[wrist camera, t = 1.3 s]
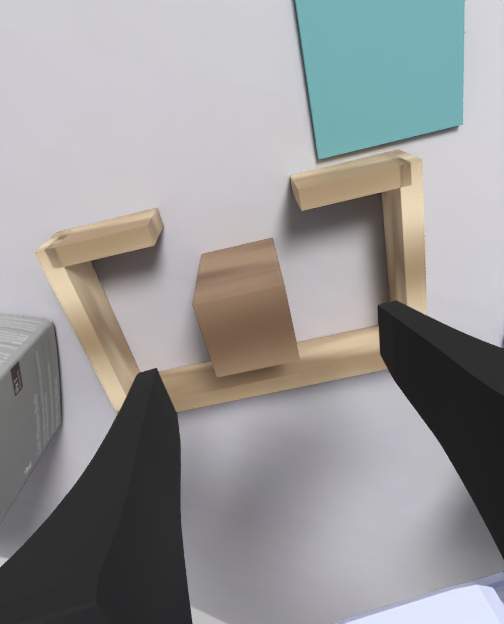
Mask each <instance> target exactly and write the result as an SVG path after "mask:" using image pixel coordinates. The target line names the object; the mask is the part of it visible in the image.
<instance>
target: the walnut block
mask: <svg viewBox="0 0 504 624" xmlns="http://www.w3.org/2000/svg"><path fill="white" fill-rule="evenodd" d="M192 305H193V308H194V311H195V314H196V317H197V320H198V323H199V326H200V329H201V332H202V335H203V338H204V341H205V344H206V347H207V349H208V352H209V355H210V358H211V361H212V364H213V367H214V370H215V373H216V376H217V378H218V377H222V376H227V375H232V374H237V373H242V372H246V371H251V370H256V369H261V368H265V367H270V366H275V365H280V364H285V363H289V362H294V361H299V360H300V356H299V352H298V347H297V342H296V338H295V333H294V328H293V323H292V319H291V314H290V309H289V305H288V300H287V295H286V290H285V286H284V281H283V277H282V273H281V269H280V265H279V261H278V257H277V253H276V249H275V245H274V241H273V238H269V239H264V240H260V241H256V242H252V243H247V244H243V245H239V246H234V247H230V248H226V249H221V250H217V251H213V252H208V253H204V254H202V255H201V260H200V266H199V271H198V277H197V282H196V288H195V293H194V299H193V304H192Z"/></svg>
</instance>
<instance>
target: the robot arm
mask: <svg viewBox="0 0 504 624" xmlns="http://www.w3.org/2000/svg"><path fill="white" fill-rule="evenodd" d="M378 324H379V344H380V355H381V357H382V359H383V361H384V363H385V365H386V367H387V368H388V370H389V372H390V374H391V376H392V377H393V379H394V381H395V382H396V383H397V385H398V386H399V388H400V389H401V390H402V392H403V393H404V395H405V396H406V397H407V399H408V400H409V401H410V403H411V404H412V405H413V407H414V408H415V409H416V411H417V412H418V413H419V415H420V416H421V418H422V419H423V420H424V422H425V423H426V424H427V426H428V427H429V428H430V430H431V431H432V432H433V434H434V435H435V437H436V438H437V440H438V441H439V443H440V444H441V446H442V447H443V449H444V451H445V452H446V454H447V456H448V457H449V459H450V461H451V462H452V464H453V466H454V468H455V469H456V471H457V473H458V474H459V476H460V478H461V480H462V482H463V483H464V485H465V487H466V489H467V491H468V492H469V494H470V496H471V498H472V499H473V501H474V503H475V505H476V507H477V509H478V511H479V512H480V514H481V516H482V518H483V520H484V522H485V524H486V526H487V528H488V529H489V531H490V533H491V535H492V537H493V539H494V541H495V543H496V545H497V547H498V549H499V551H500V553H501V555H502V557H503V559H504V349H503V348H500V347H497V346H495V345H492V344H489V343H487V342H484V341H482V340H479V339H477V338H475V337H472V336H470V335H467V334H465V333H463V332H460V331H458V330H456V329H454V328H452V327H449V326H447V325H445V324H443V323H441V322H439V321H437V320H435V319H433V318H431V317H429V316H427V315H425V314H423V313H421V312H419V311H417V310H415V309H413V308H411V307H409V306H407V305H405V304H403V303H401V302H399V301H397V300H395V301H391V302H388V303H384V304H381V305H378ZM180 483H181V446H180V434H179V426H178V418H177V412H176V410H175V408H174V406H173V403H172V401H171V399H170V397H169V394H168V392H167V390H166V388H165V386H164V383H163V381H162V379H161V377H160V374H159V372H158V370H157V368H155V369H151V370H148V371H144V372H141V373H138V374H137V375H136V377H135V379H134V381H133V383H132V385H131V388H130V390H129V392H128V394H127V396H126V398H125V400H124V402H123V404H122V407H121V409H120V411H119V413H118V414H117V416H116V418H115V420H114V422H113V424H112V426H111V428H110V430H109V432H108V433H107V435H106V437H105V439H104V440H103V442H102V444H101V445H100V447H99V449H98V451H97V452H96V454H95V456H94V457H93V459H92V460H91V462H90V463H89V465H88V466H87V468H86V469H85V471H84V472H83V474H82V475H81V477H80V478H79V479H78V481H77V482H76V484H75V485H74V486H73V488H72V489H71V490H70V491H69V493H68V494H67V495H66V496H65V498H64V499H63V500H62V501H61V503H60V504H59V505H58V506H57V508H56V509H55V510H54V511H53V513H52V514H51V515H50V516H49V517H48V518H47V519H46V521H45V522H44V523H43V524H42V525H41V526H40V527H39V528H38V530H37V531H36V532H35V533H34V534H33V535H32V536H31V537H30V538H29V539H28V540H27V541H26V542H25V543H24V545H23V546H22V547H21V548H20V549H19V550H18V551H17V552H16V553H15V554H14V555H13V556H12V557H11V558H10V559H9V560H8V561H7V562H5V563H4V564H3V565H2V566H1V567H0V624H192V617H191V609H190V601H189V593H188V585H187V577H186V568H185V559H184V549H183V539H182V529H181V511H180ZM334 624H504V571H503V572H499V573H496V574H493V575H490V576H487V577H483V578H480V579H477V580H474V581H471V582H467V583H464V584H459V585H453V586H449V587H446V588H443V589H439V590H436V591H433V592H430V593H427V594H423V595H420V596H417V597H414V598H411V599H407V600H404V601H401V602H398V603H395V604H391V605H388V606H385V607H382V608H379V609H375V610H372V611H369V612H366V613H363V614H359V615H356V616H353V617H350V618H346V619H344V620H341V621H339V622H337V623H334Z"/></svg>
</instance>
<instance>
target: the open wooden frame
mask: <svg viewBox="0 0 504 624" xmlns="http://www.w3.org/2000/svg"><path fill="white" fill-rule="evenodd" d="M290 179H291V185H292V190H293V195H294V197H295V199H296V201H297V203H298V205H299V207H300V209H301V211H304V210H308V209H312V208H317V207H321V206H325V205H329V204H334V203H338V202H342V201H346V200H351V199H355V198H359V197H363V196H368V195H372V194H376V193H380V192H382V205H383V218H384V231H385V244H386V257H387V270H388V282H389V295H390V302H391V301H395V300H397V301H399V302H401V303H403V304H405V305H407V306H409V307H411V308H413V309H415V310H417V311H419V312H421V313H423V314H425V315H427V301H426V267H425V234H424V201H423V167H422V159H420V158H417V157H415V156H413V155H410V154H408V153H406V152H403V151H401V150H395V151H390V152H386V153H382V154H378V155H374V156H370V157H366V158H362V159H357V160H353V161H349V162H345V163H341V164H337V165H333V166H328V167H324V168H320V169H316V170H312V171H308V172H304V173H300V174H295V175H291V176H290ZM163 227H164V226H163V223H162V220H161V217H160V214H159V211H158V208H155V209H151V210H147V211H143V212H139V213H134V214H130V215H126V216H122V217H118V218H114V219H110V220H105V221H101V222H97V223H93V224H89V225H85V226H81V227H77V228H72V229H68V230H64V231H60V232H57V233H56V234H55V235H54V236H53V237H51V238H50V239H49V240H48V241H47V242H46V243H45V244H43V245H42V246H41V247H40V248H39V249H38V250H36V251H35V252H34V253H35V255H36V257H37V259H38V261H39V262H40V264H41V266H42V268H43V270H44V272H45V274H46V276H47V278H48V280H49V282H50V284H51V286H52V288H53V290H54V292H55V294H56V296H57V298H58V300H59V302H60V304H61V306H62V308H63V309H64V311H65V313H66V315H67V317H68V319H69V321H70V323H71V325H72V327H73V329H74V331H75V333H76V335H77V337H78V339H79V341H80V343H81V345H82V347H83V349H84V351H85V353H86V355H87V356H88V358H89V360H90V362H91V364H92V366H93V368H94V370H95V372H96V374H97V376H98V378H99V380H100V382H101V384H102V386H103V388H104V390H105V392H106V394H107V396H108V398H109V400H110V402H111V404H112V405H113V407H114V409H115V411H116V413H117V414H118V413H119V411H120V409H121V407H122V404H123V402H124V400H125V398H126V396H127V394H128V392H129V390H130V388H131V385H132V383H133V381H134V379H135V377H136V375H137V374H138V373H140V371H139V369H138V366H137V364H136V362H135V360H134V357H133V355H132V353H131V351H130V348H129V346H128V344H127V342H126V339H125V337H124V335H123V333H122V331H121V328H120V326H119V324H118V322H117V319H116V317H115V315H114V313H113V310H112V308H111V306H110V304H109V301H108V299H107V297H106V295H105V292H104V290H103V288H102V286H101V283H100V281H99V279H98V277H97V275H96V272H95V270H94V268H93V266H92V263H91V260H96V259H100V258H104V257H108V256H113V255H117V254H121V253H125V252H130V251H134V250H138V249H142V248H147V247H151V246H155V243H156V241H157V239H158V237H159V235H160V233H161V231H162V229H163ZM297 347H298V352H299V356H300V360H299V361H294V362H289V363H285V364H280V365H275V366H270V367H265V368H261V369H256V370H251V371H246V372H242V373H237V374H232V375H227V376H222V377H218V378H217V376H216V373H215V370H214V367H213V364H212V361H208V362H204V363H199V364H194V365H189V366H185V367H180V368H175V369H171V370H166V371H161V372H159V374H160V377H161V379H162V381H163V383H164V386H165V388H166V390H167V392H168V394H169V397H170V399H171V401H172V403H173V406H174V408H175V410H176V412H180V411H185V410H190V409H195V408H200V407H205V406H210V405H214V404H219V403H224V402H229V401H234V400H239V399H244V398H249V397H254V396H259V395H264V394H268V393H273V392H278V391H283V390H288V389H293V388H298V387H303V386H308V385H313V384H317V383H322V382H327V381H332V380H337V379H342V378H347V377H352V376H357V375H362V374H367V373H371V372H376V371H381V370H386V369H388V368H387V367H386V365H385V363H384V361H383V359H382V357H381V355H380V344H379V325H378V326H373V327H369V328H364V329H359V330H355V331H350V332H345V333H340V334H336V335H331V336H326V337H322V338H317V339H312V340H307V341H303V342H298V343H297Z"/></svg>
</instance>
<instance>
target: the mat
mask: <svg viewBox="0 0 504 624" xmlns="http://www.w3.org/2000/svg"><path fill="white" fill-rule="evenodd" d="M464 2H465V0H295V6H296V13H297V20H298V26H299V33H300V40H301V47H302V54H303V61H304V68H305V75H306V82H307V88H308V95H309V102H310V109H311V116H312V123H313V130H314V137H315V144H316V150H317V157H318V159H323V158H327V157H331V156H336V155H340V154H344V153H348V152H352V151H356V150H360V149H364V148H368V147H372V146H377V145H381V144H385V143H389V142H393V141H397V140H401V139H405V138H409V137H413V136H418V135H422V134H426V133H430V132H434V131H438V130H442V129H446V128H450V127H455V126H459V125H463V72H464Z"/></svg>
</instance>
